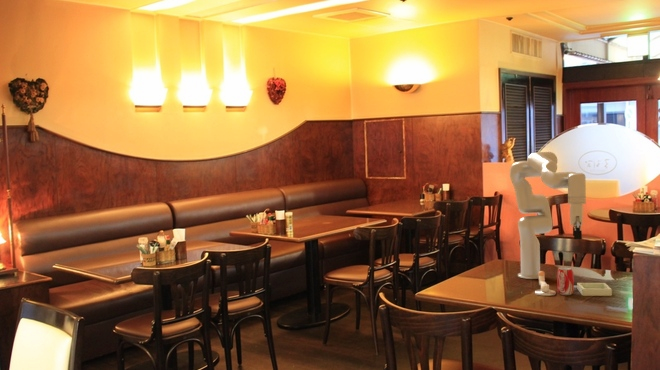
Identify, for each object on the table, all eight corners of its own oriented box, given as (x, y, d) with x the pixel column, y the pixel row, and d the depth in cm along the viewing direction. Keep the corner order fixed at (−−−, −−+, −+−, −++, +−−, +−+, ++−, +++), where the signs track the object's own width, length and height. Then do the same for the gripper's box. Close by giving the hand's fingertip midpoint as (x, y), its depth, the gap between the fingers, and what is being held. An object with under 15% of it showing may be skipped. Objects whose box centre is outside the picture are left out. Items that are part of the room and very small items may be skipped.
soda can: (575, 295, 288) (574, 269, 288) (558, 295, 290) (558, 269, 289) (572, 292, 295) (572, 266, 294) (556, 291, 297) (556, 266, 296)
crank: (541, 291, 293) (541, 276, 292) (537, 285, 306) (537, 270, 305) (549, 291, 292) (549, 276, 291) (545, 285, 305) (545, 270, 305)
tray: (577, 289, 300) (577, 282, 300) (604, 289, 298) (604, 282, 298) (582, 295, 288) (582, 289, 288) (611, 295, 286) (611, 289, 286)
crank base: (533, 291, 299) (533, 288, 299) (553, 291, 298) (553, 288, 298) (536, 296, 291) (536, 293, 290) (557, 296, 289) (556, 293, 289)
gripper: (567, 198, 298) (567, 234, 299) (568, 202, 282) (569, 240, 283) (584, 198, 296) (584, 234, 297) (586, 202, 279) (587, 240, 281)
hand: (577, 237), depth 290 cm, fingers open, 9 cm apart
